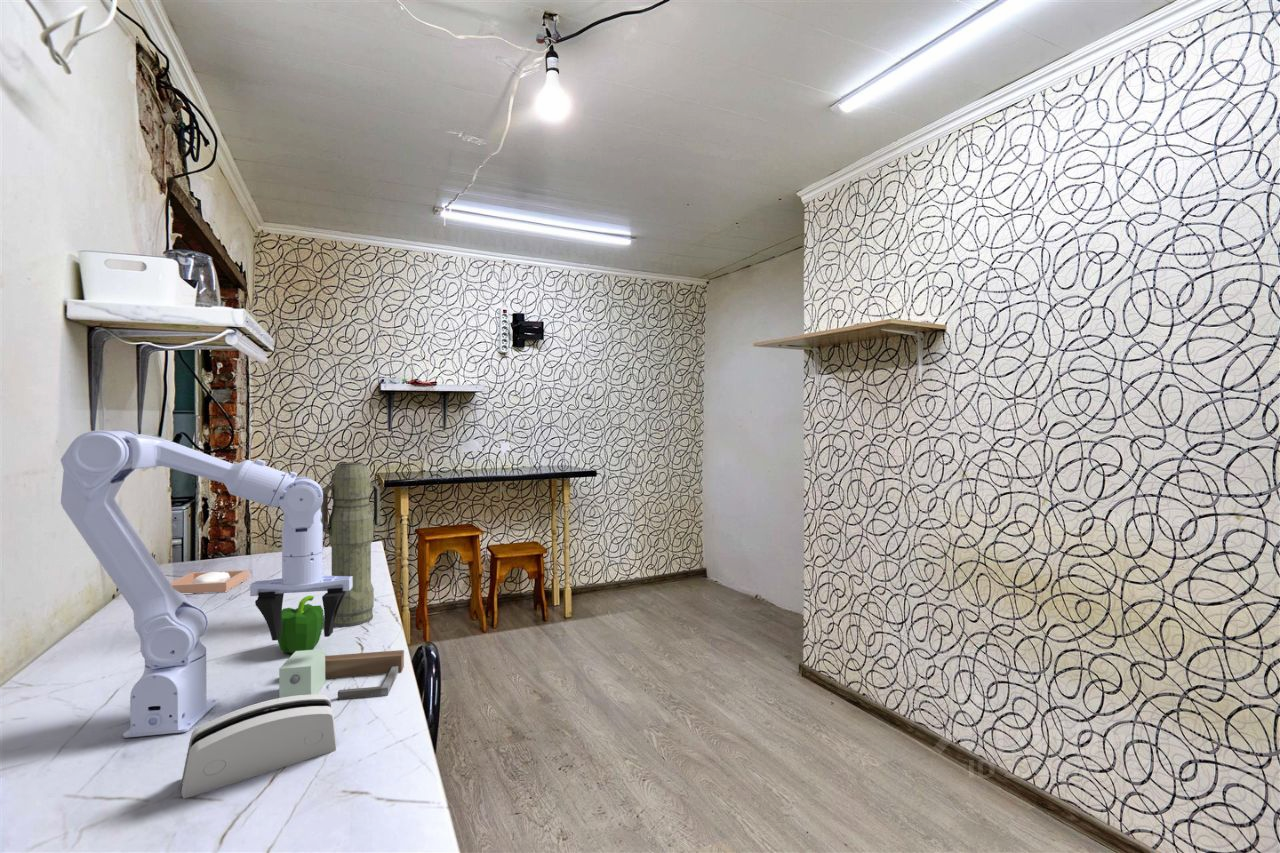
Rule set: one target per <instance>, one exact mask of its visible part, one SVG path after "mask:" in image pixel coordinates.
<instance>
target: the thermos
mask: <svg viewBox="0 0 1280 853" xmlns="http://www.w3.org/2000/svg"><path fill="white" fill-rule="evenodd" d="M371 489H373V513H372V510H371V503H370V497H371ZM322 491H323V502H322V505H321V507H320V508H321V513H322V519H321V523H322V525H323V533H325V534H326V535H328V542H329V545H330V547H331V576H353V587H352V589H351V590H349V591H346V594H345V596H344V598H343V600H342V602H341V604H340V607H339V609H338V612H337V615H336V618H335V622H334V627H336V628H346V627H347V628H348V627H349V628H350V627H355V625H356V626H359V625H360V626H361V625H363V623H364V624H366V623H369V622H370V621H372V620H373V618H374V615H373V610H374V609H373V608H374V602H375V600H374V596H375V595H374V591H375V588H374V587H373V584H372V565H371V564H372V542H373V540H374V531H375V529H378V528H380V526H381V525H380V524H381V488H380V486H379V485H378V484H377V483H376V482H372V481H371V475H370V472H369V469H368V466H367V464H366V463H363V462H356V461H355V462H352V461H351V462H339V464H336V465H335V467H334V469H333V473H332V477H331V484H330V485H328V486H325V487H324V488H323V489H322ZM330 491H331V499H332V505H331V512H330V515H329V493H330Z"/></svg>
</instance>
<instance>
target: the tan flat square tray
mask: <svg viewBox="0 0 1280 853" xmlns="http://www.w3.org/2000/svg"><path fill="white" fill-rule="evenodd" d="M209 572H210V571H194V572H193V571H192V572H190V573H187V574H185V575H183V576H181V577H179V578H177V579H175V580H173V581H171V582H169V583H170V584H171V586H172V587H173V588H174V589H175V590H177V591H178V592H180V593H204V592H224V593H226V592H225V591H228V590H229V589H231V588H233V587H234V586H236V585H238V584H239V583H241V582H243V581H244V580H246V579H247V578H249V579H250V570H249V569H238V570H217V571H215V570H213V571H211V572H226V573H228V574H229V576H230V579H228V580H226V581H224V582H210V583H192V582H193V581H194V579H195V578H196V577H198V576H200V575H202V574H206V573H209ZM246 581H247V580H246ZM244 582H245V581H244ZM244 582H243V583H244ZM241 584H242V583H241ZM239 585H240V584H239ZM239 585H238V586H239ZM236 587H237V586H236ZM234 588H235V587H234ZM234 588H233V589H234ZM231 590H232V589H231ZM229 591H230V590H229ZM229 591H228V592H229Z"/></svg>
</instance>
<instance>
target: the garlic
mask: <svg viewBox="0 0 1280 853" xmlns="http://www.w3.org/2000/svg"><path fill="white" fill-rule="evenodd" d="M208 572H209V573H206V574H202V575H200V576H198V577H196V578H195V579H194V581H193V583H210V582H224V581H226V580H228V579H230V576H229V574H228V573H226V572H212V571H208Z"/></svg>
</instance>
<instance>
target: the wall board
mask: <svg viewBox="0 0 1280 853" xmlns="http://www.w3.org/2000/svg"><path fill="white" fill-rule="evenodd" d="M404 667H405V650H404V649H399V650H384V651H374V652H372V651H371V652H362V653H361V652H359V653H357V652H356V653H344V654H334V655H332V654H331V655H330V654H329V655H325V680H326V679H337V678H348V677H360V676H361V675H362V676H373V675H374V674H375V675H382V674H383V675H386V674H387V677H385V680H384V681H383V684H382V685H381V686H370V687H369V686H368V687H359V688H357V687H356V688H347V689H345V688H344V689H339V690H338V691H337V700H339V701H340V700H349V699H359V698H360V699H361V698H372V697H382V696H384V697H385V696H389V694H390V691H391V689H392V687H393V685H394V682H395V681H396V679H397V676H398V674H400V673H402V672H403V669H404ZM362 676H361V677H362Z"/></svg>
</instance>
